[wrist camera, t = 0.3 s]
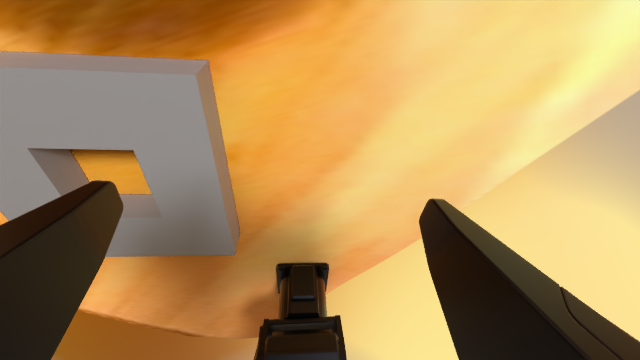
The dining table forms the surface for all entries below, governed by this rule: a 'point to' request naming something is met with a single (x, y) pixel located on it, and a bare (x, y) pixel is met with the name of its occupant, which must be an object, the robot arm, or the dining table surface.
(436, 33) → the dining table surface
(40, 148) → the well block
